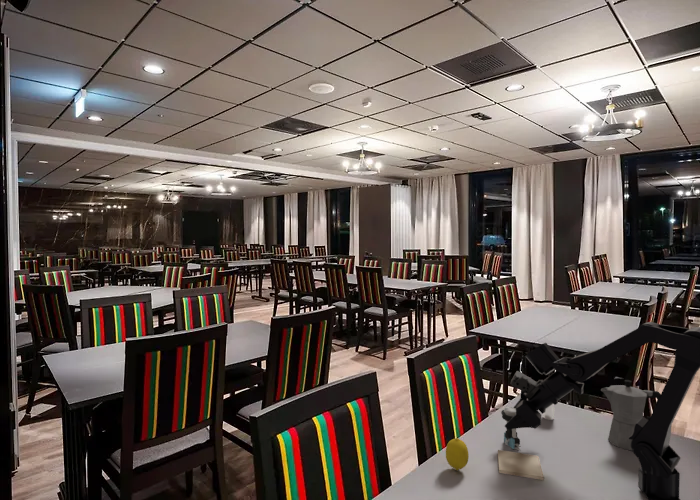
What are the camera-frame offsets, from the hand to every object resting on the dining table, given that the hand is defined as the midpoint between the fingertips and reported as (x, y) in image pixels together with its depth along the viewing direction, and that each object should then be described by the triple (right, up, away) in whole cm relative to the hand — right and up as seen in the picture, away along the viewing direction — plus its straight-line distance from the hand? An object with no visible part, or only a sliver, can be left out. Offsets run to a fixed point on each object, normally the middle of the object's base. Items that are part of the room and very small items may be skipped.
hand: (508, 420), depth 114 cm
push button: (+1, -7, 0) cm, 7 cm away
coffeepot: (+35, -7, +1) cm, 36 cm away
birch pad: (-1, -7, -10) cm, 12 cm away
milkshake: (+20, -7, +18) cm, 27 cm away
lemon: (-18, -7, -12) cm, 23 cm away
